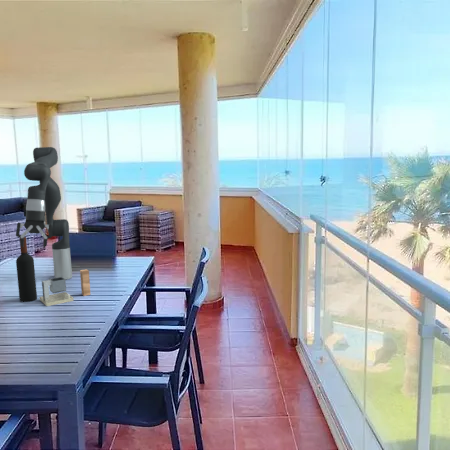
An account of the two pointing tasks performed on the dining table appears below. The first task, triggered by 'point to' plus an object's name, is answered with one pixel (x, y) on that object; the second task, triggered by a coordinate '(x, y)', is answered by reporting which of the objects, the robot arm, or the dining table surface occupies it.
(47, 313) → the dining table surface
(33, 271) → the wine bottle
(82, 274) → the tan wooden block
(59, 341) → the dining table surface
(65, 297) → the cup bracket
